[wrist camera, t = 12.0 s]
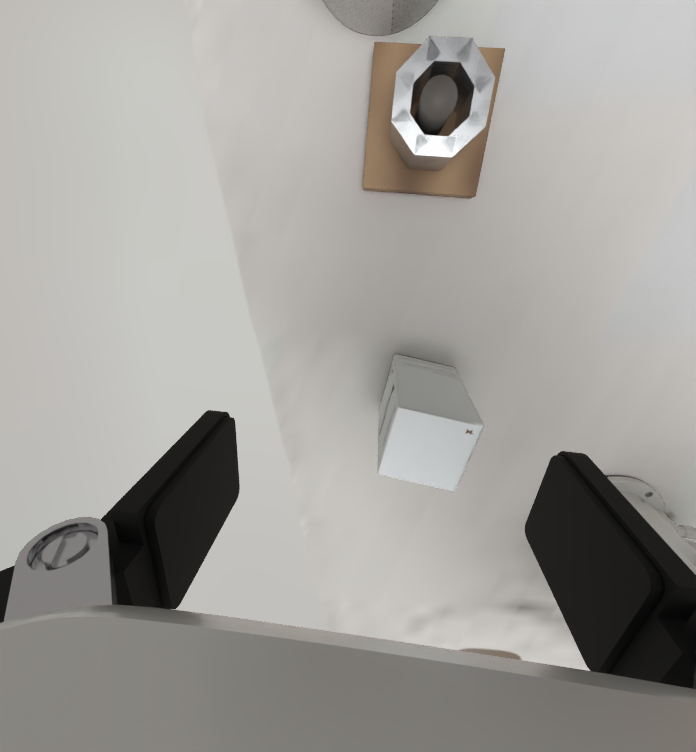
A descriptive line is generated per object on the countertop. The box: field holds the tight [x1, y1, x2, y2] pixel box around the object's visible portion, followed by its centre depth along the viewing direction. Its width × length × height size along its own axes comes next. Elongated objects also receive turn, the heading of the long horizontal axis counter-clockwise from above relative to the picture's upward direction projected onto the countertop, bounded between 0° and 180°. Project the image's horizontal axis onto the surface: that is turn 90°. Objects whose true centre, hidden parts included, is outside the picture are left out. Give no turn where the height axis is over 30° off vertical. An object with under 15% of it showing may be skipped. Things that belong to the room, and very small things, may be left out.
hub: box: [389, 36, 495, 171], centre depth 25 cm, size 6×6×6 cm
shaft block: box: [363, 42, 505, 198], centre depth 26 cm, size 10×10×8 cm
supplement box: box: [377, 354, 484, 492], centre depth 34 cm, size 7×7×13 cm
